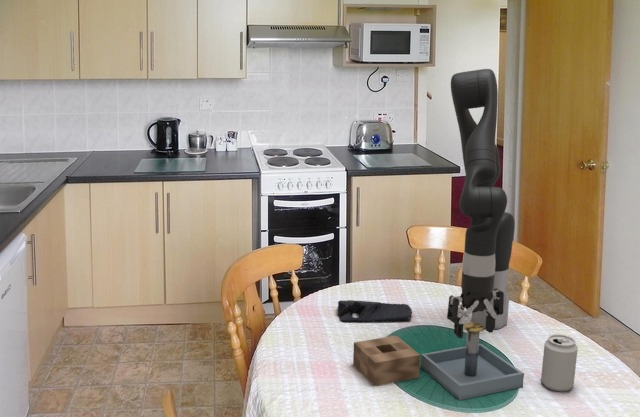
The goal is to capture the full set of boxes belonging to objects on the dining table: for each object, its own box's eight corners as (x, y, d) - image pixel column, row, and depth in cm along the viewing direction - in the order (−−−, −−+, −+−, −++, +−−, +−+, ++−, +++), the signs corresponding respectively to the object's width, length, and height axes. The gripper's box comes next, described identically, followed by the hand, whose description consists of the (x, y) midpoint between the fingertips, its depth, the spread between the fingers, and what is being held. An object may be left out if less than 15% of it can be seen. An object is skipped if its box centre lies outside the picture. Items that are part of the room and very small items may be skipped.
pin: (472, 368, 180) (476, 320, 177) (483, 376, 176) (486, 327, 173) (457, 371, 178) (460, 323, 175) (467, 379, 174) (471, 330, 171)
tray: (480, 356, 188) (481, 343, 187) (522, 386, 173) (524, 373, 172) (420, 367, 182) (421, 354, 181) (459, 400, 166) (460, 386, 165)
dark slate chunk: (412, 327, 207) (413, 311, 206) (335, 323, 209) (335, 308, 207) (411, 307, 222) (411, 292, 220) (338, 303, 223) (339, 289, 222)
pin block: (395, 357, 187) (396, 335, 186) (418, 377, 176) (420, 354, 175) (353, 364, 183) (353, 342, 181) (374, 386, 172) (375, 362, 170)
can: (535, 378, 177) (540, 332, 174) (565, 377, 178) (570, 331, 175) (547, 393, 170) (552, 346, 167) (578, 392, 170) (584, 345, 167)
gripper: (494, 261, 176) (489, 324, 180) (443, 268, 171) (440, 332, 175) (513, 271, 170) (508, 335, 174) (461, 279, 164) (457, 345, 168)
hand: (474, 334), depth 174 cm, fingers open, 8 cm apart
